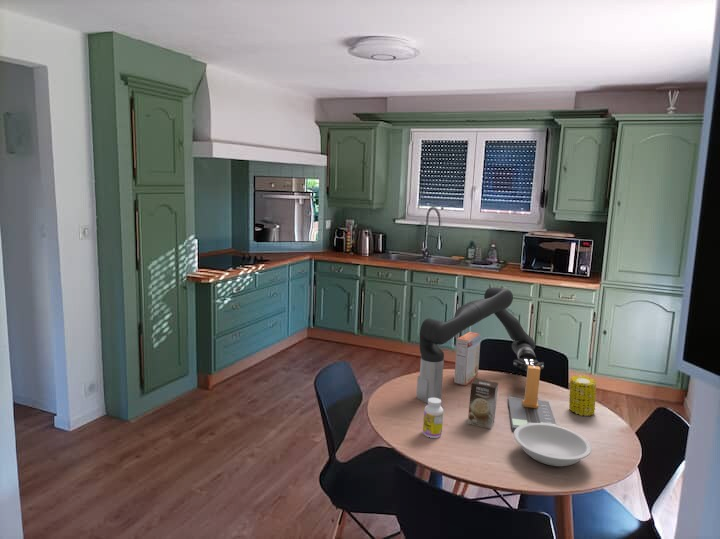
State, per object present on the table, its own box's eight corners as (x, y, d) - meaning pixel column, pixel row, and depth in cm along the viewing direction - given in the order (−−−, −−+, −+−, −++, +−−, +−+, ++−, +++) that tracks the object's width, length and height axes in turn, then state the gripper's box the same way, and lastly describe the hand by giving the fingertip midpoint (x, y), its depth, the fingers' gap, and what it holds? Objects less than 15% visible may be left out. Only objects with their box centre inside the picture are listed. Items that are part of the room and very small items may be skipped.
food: (598, 418, 205) (577, 422, 202) (578, 400, 215) (558, 403, 212) (608, 386, 199) (586, 390, 196) (587, 369, 209) (566, 372, 206)
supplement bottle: (419, 431, 185) (421, 397, 183) (435, 428, 188) (438, 395, 186) (428, 440, 179) (430, 405, 177) (445, 437, 182) (447, 403, 179)
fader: (538, 408, 204) (542, 369, 201) (523, 406, 205) (527, 367, 202) (536, 403, 208) (540, 365, 205) (522, 402, 209) (526, 364, 206)
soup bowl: (512, 470, 162) (514, 451, 161) (511, 435, 185) (513, 418, 184) (595, 485, 156) (597, 465, 155) (583, 447, 179) (585, 429, 178)
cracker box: (466, 374, 243) (469, 330, 239) (478, 377, 239) (481, 333, 235) (452, 382, 231) (456, 337, 228) (465, 386, 228) (469, 340, 224)
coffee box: (466, 423, 193) (470, 382, 190) (470, 416, 198) (474, 377, 196) (491, 429, 189) (495, 387, 186) (495, 422, 195) (498, 381, 192)
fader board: (558, 437, 185) (560, 428, 184) (512, 431, 188) (513, 422, 188) (548, 405, 212) (549, 396, 211) (507, 400, 215) (508, 392, 215)
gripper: (511, 347, 232) (514, 361, 215) (543, 350, 229) (548, 364, 212) (510, 363, 233) (513, 378, 216) (541, 366, 230) (546, 381, 214)
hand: (530, 371), depth 214 cm, fingers closed
